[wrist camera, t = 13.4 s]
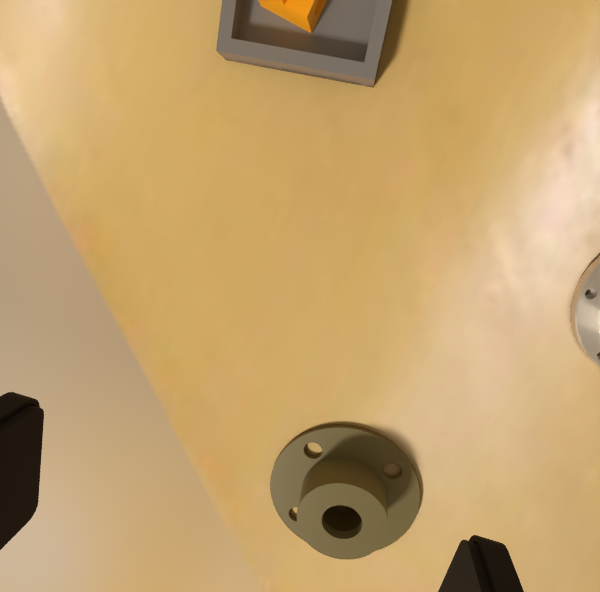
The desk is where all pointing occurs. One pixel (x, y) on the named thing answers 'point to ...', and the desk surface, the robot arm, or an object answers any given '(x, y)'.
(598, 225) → the desk surface
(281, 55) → the parts tray
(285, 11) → the orange blocky piece
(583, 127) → the desk surface
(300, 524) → the flange
